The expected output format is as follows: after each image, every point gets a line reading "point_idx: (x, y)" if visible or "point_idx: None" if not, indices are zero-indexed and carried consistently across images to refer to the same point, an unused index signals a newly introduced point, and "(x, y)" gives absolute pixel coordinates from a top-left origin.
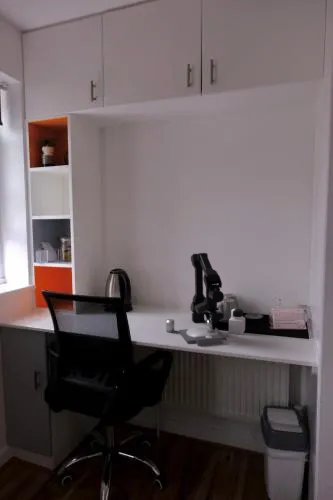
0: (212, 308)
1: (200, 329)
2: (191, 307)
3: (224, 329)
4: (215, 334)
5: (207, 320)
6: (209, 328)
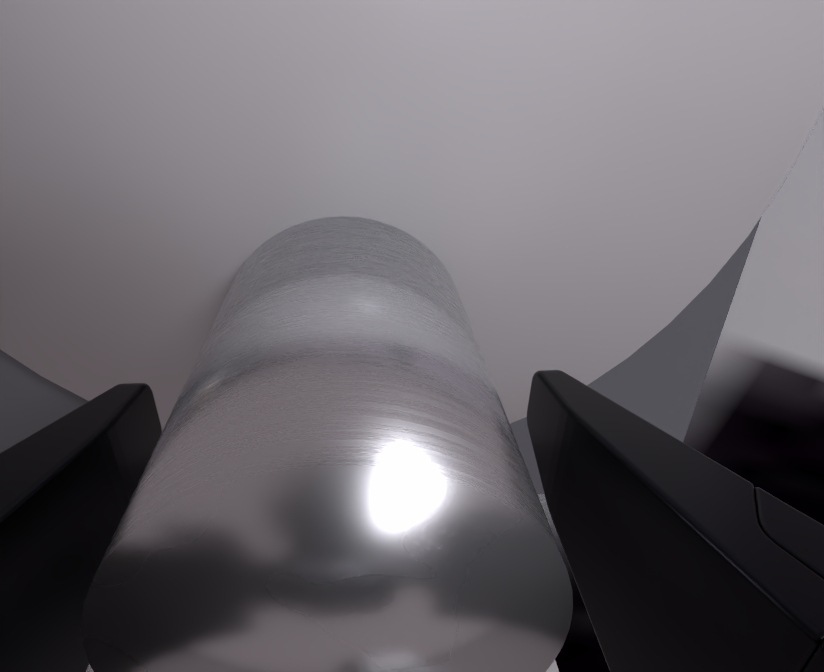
0: None
1: (617, 86)
2: None
3: (571, 570)
4: (94, 363)
5: (301, 481)
6: (222, 317)
